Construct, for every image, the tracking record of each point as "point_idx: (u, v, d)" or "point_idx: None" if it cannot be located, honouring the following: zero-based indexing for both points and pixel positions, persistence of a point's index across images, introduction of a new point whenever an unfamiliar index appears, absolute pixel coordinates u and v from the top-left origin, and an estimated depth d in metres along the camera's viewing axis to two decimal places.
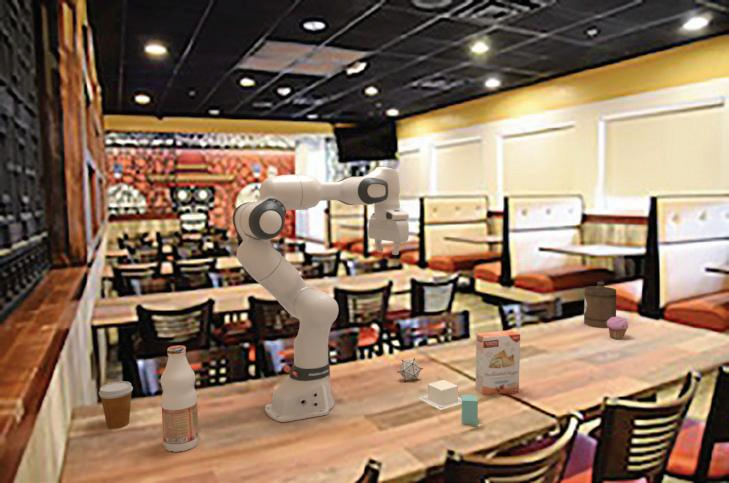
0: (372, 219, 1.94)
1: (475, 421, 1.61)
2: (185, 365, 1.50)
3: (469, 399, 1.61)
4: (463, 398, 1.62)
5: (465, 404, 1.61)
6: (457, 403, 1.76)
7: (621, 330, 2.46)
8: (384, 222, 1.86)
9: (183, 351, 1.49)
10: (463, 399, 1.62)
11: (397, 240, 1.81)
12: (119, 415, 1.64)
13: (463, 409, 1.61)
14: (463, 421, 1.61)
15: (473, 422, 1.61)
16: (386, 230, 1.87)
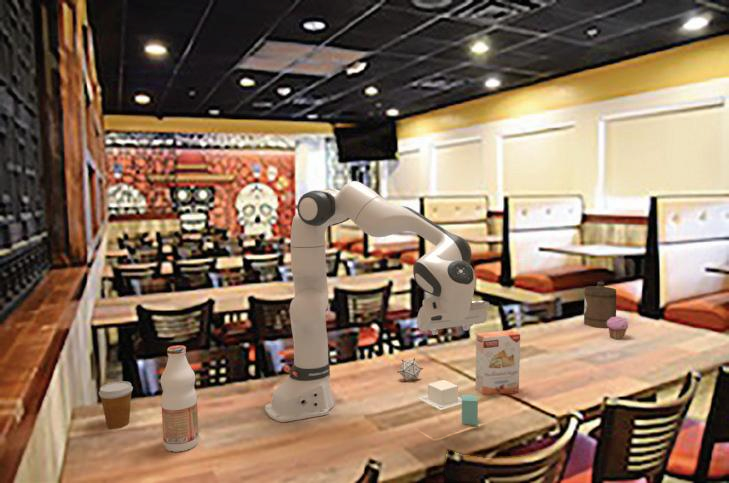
0: None
1: (475, 421, 1.61)
2: (185, 365, 1.50)
3: (469, 399, 1.61)
4: (463, 398, 1.62)
5: (465, 404, 1.61)
6: (457, 403, 1.76)
7: (621, 330, 2.46)
8: None
9: (183, 351, 1.49)
10: (463, 399, 1.62)
11: None
12: (119, 415, 1.64)
13: (463, 409, 1.61)
14: (463, 421, 1.61)
15: (473, 422, 1.61)
16: None
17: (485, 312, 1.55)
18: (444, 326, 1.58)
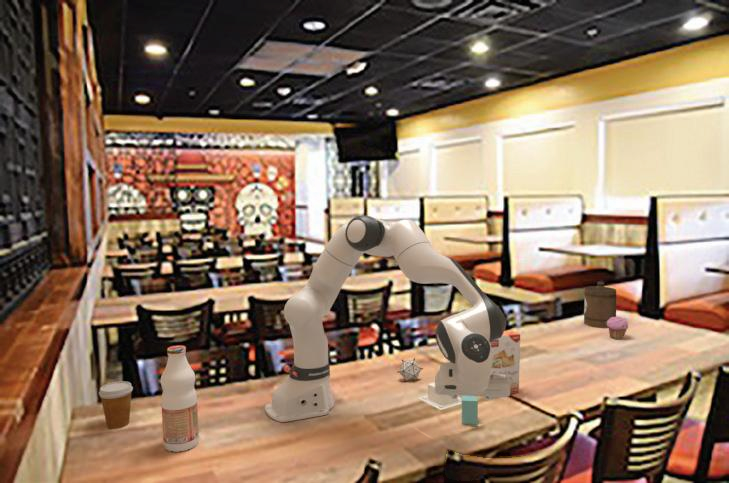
0: (498, 374, 1.44)
1: (475, 421, 1.61)
2: (185, 365, 1.50)
3: (469, 399, 1.61)
4: (463, 398, 1.62)
5: (464, 404, 1.61)
6: (457, 403, 1.76)
7: (621, 330, 2.46)
8: None
9: (183, 351, 1.49)
10: (463, 399, 1.62)
11: None
12: (119, 415, 1.64)
13: (463, 409, 1.61)
14: (463, 421, 1.61)
15: (473, 422, 1.61)
16: None
17: (507, 388, 1.43)
18: (462, 393, 1.48)
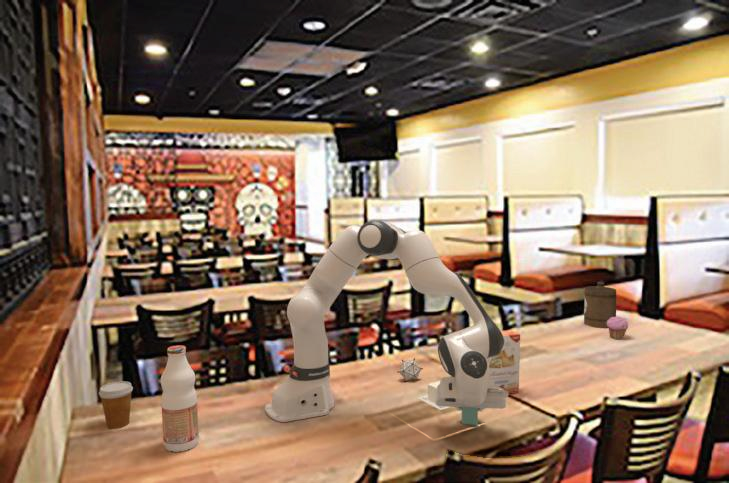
0: (494, 387, 1.55)
1: (475, 421, 1.61)
2: (185, 365, 1.50)
3: None
4: None
5: None
6: None
7: (621, 330, 2.46)
8: None
9: (183, 351, 1.49)
10: None
11: None
12: (119, 415, 1.64)
13: (463, 409, 1.61)
14: (463, 421, 1.61)
15: (473, 422, 1.61)
16: None
17: (503, 400, 1.53)
18: (461, 405, 1.58)
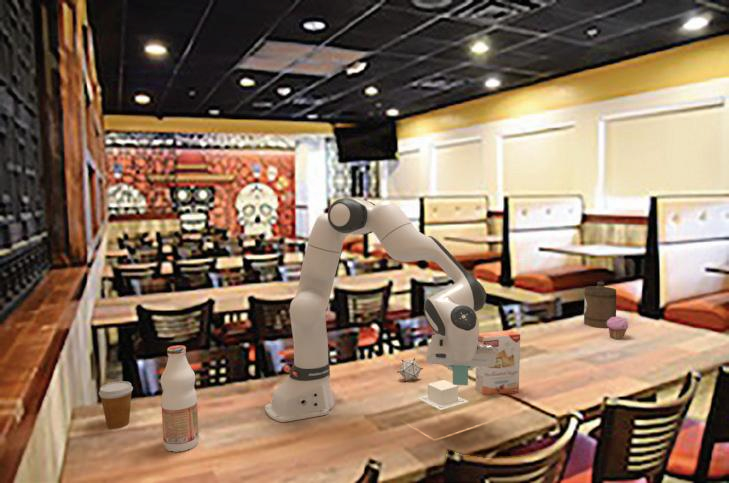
0: None
1: (465, 379, 1.64)
2: (185, 365, 1.50)
3: None
4: None
5: None
6: (457, 403, 1.76)
7: (621, 330, 2.46)
8: None
9: (183, 351, 1.49)
10: None
11: None
12: (119, 415, 1.64)
13: (454, 367, 1.64)
14: (454, 379, 1.64)
15: (463, 380, 1.64)
16: None
17: (492, 357, 1.56)
18: (451, 363, 1.61)
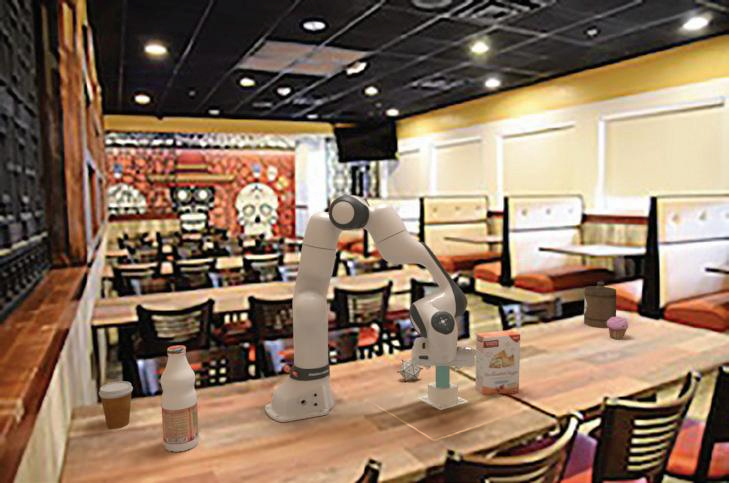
0: None
1: (447, 382, 1.77)
2: (185, 365, 1.50)
3: None
4: None
5: (438, 367, 1.77)
6: (457, 403, 1.76)
7: (621, 330, 2.46)
8: None
9: (183, 351, 1.49)
10: None
11: None
12: (119, 415, 1.64)
13: (436, 371, 1.77)
14: (436, 382, 1.77)
15: (445, 383, 1.77)
16: None
17: (471, 358, 1.69)
18: (434, 364, 1.74)
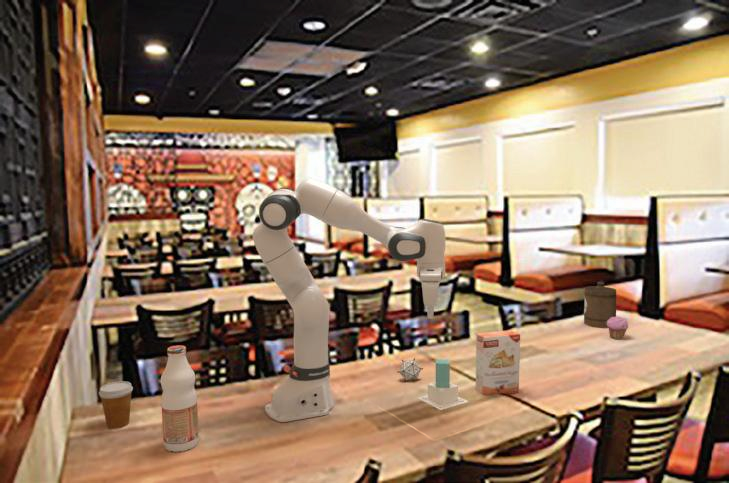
0: None
1: (447, 382, 1.77)
2: (185, 365, 1.50)
3: (442, 362, 1.77)
4: (436, 361, 1.78)
5: (438, 367, 1.77)
6: (457, 403, 1.76)
7: (621, 330, 2.46)
8: None
9: (183, 351, 1.49)
10: (436, 362, 1.77)
11: (424, 303, 1.62)
12: (119, 415, 1.64)
13: (436, 371, 1.77)
14: (436, 382, 1.77)
15: (445, 383, 1.77)
16: None
17: None
18: None
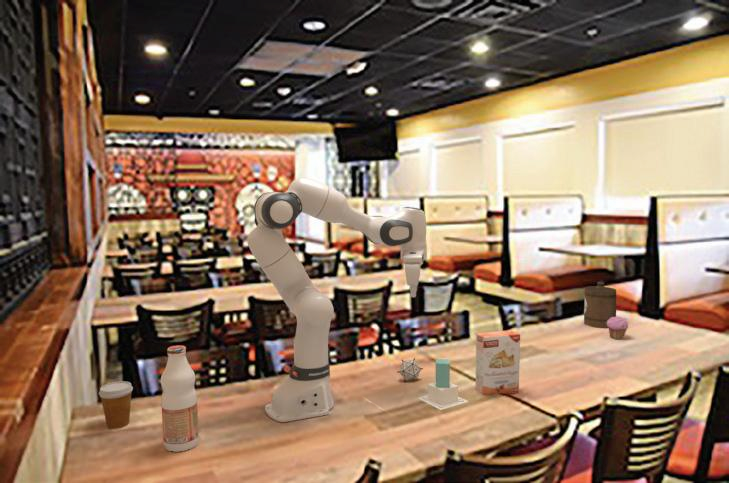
0: None
1: (447, 382, 1.77)
2: (185, 365, 1.50)
3: (442, 362, 1.77)
4: (436, 361, 1.78)
5: (438, 367, 1.77)
6: (457, 403, 1.76)
7: (621, 330, 2.46)
8: None
9: (183, 351, 1.49)
10: (436, 362, 1.77)
11: None
12: (119, 415, 1.64)
13: (436, 371, 1.77)
14: (436, 382, 1.77)
15: (445, 383, 1.77)
16: None
17: None
18: None
